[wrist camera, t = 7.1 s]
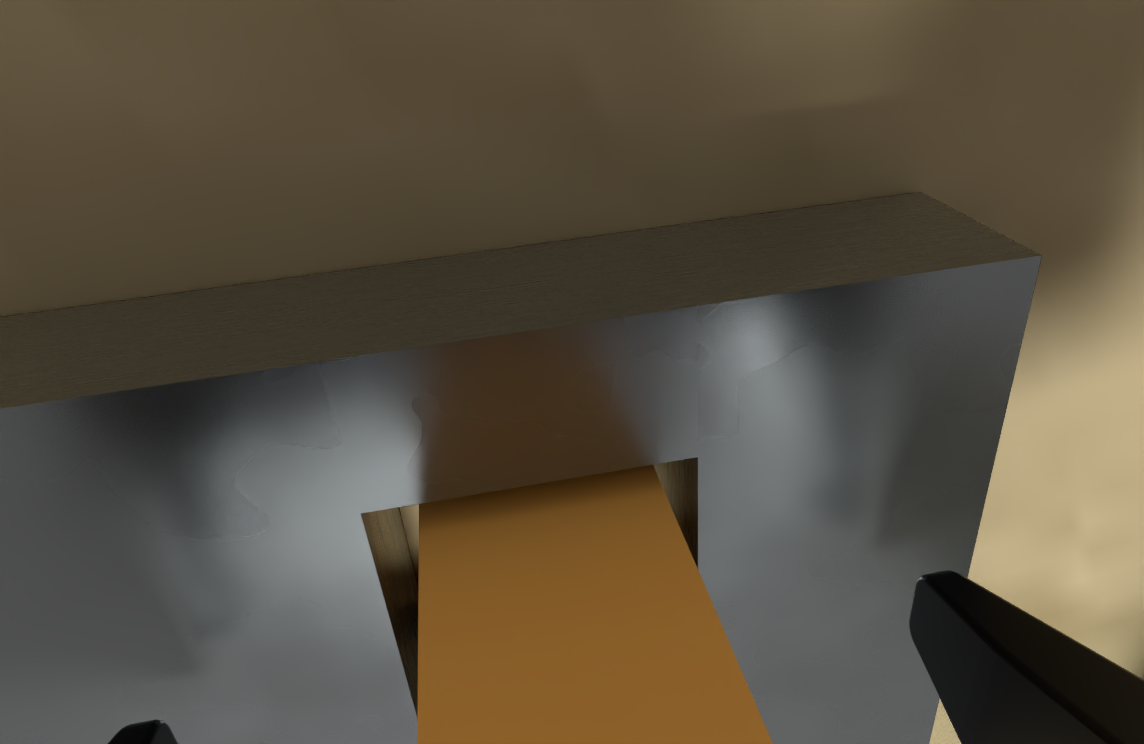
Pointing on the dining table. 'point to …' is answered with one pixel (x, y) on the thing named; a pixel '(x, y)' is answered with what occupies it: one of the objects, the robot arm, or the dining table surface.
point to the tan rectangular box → (571, 621)
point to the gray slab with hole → (500, 463)
